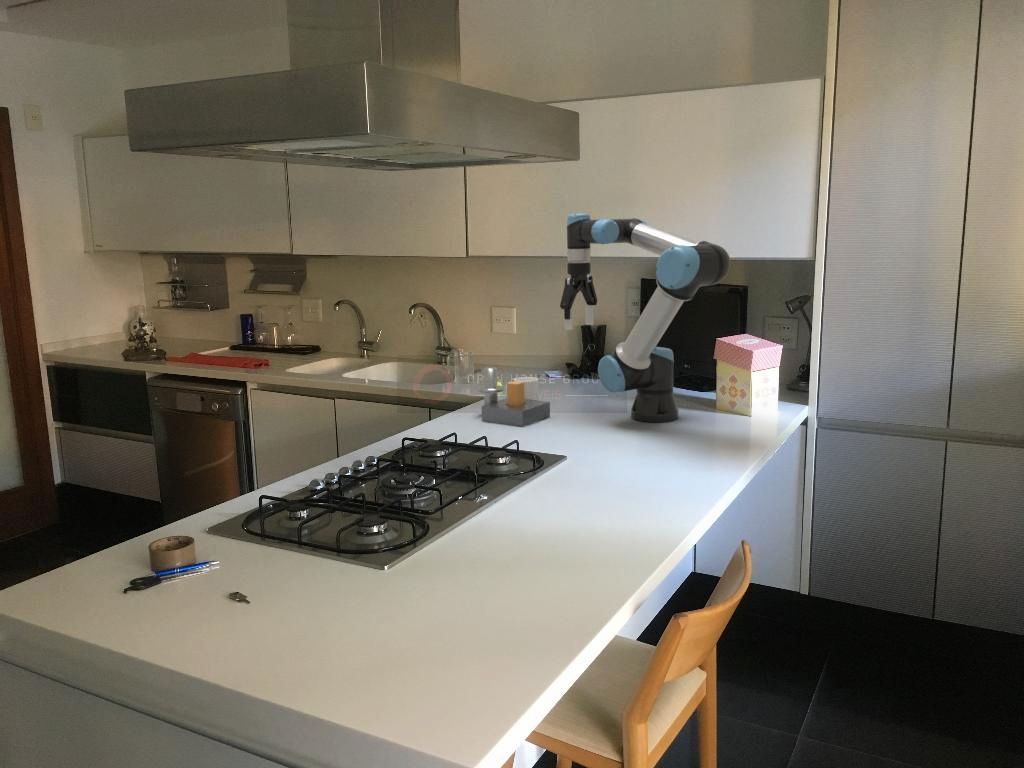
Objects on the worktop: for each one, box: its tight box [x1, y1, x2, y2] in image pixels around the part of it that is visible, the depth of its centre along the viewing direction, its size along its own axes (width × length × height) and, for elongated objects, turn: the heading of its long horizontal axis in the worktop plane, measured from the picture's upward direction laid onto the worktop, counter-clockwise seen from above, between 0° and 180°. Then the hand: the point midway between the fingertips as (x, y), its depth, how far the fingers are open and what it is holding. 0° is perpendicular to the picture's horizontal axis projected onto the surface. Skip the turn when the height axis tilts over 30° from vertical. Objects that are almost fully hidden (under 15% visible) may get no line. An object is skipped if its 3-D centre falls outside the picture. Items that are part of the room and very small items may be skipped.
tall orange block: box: [506, 380, 525, 406], centre depth 271 cm, size 4×4×12 cm
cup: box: [504, 376, 540, 401], centre depth 288 cm, size 8×12×10 cm
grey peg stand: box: [477, 366, 551, 428], centre depth 273 cm, size 22×16×16 cm
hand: (579, 327), depth 275 cm, fingers open, 13 cm apart
